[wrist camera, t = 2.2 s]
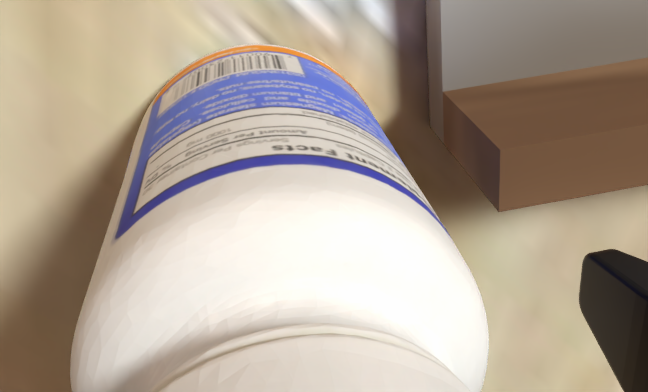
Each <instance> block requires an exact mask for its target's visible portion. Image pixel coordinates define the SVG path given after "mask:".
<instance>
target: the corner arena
mask: <svg viewBox="0 0 648 392" xmlns="http://www.w3.org/2000/svg"><path fill="white" fill-rule="evenodd" d="M426 26H427V55H428V83H429V112H430V128H431V129H432V130H433V131H434V133H435V134H436V135H437V136H438V138H439V139H440V140H441V141H442V142H443V144H444V145H445V146H446V147H447V149H448V150H449V151H450V152H451V154H452V155H453V156H454V157H455V158H456V160H457V161H458V162H459V163H460V165H461V166H462V167H463V168H464V170H465V171H466V172H467V173H468V175H469V176H470V177H471V178H472V179H473V181H474V182H475V183H476V184H477V186H478V187H479V188H480V189H481V191H482V192H483V193H484V194H485V195H486V197H487V198H488V199H489V200H490V202H491V203H492V204H493V205H494V207H495V208H496V209H497V210H498V212H501V211H507V210H512V209H518V208H523V207H529V206H534V205H540V204H545V203H550V202H556V201H561V200H567V199H572V198H578V197H583V196H589V195H594V194H600V193H605V192H610V191H616V190H621V189H627V188H632V187H638V186H643V185H648V0H426Z"/></svg>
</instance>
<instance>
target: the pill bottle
mask: <svg viewBox="0 0 648 392" xmlns="http://www.w3.org/2000/svg"><path fill="white" fill-rule="evenodd" d="M488 351H489V336H488V324H487V317H486V312H485V308H484V305H483V301H482V297H481V294H480V291H479V289H478V287H477V284H476V282H475V280H474V277H473V275H472V273H471V271H470V269H469V268H468V266H467V264H466V262H465V261H464V259H463V257H462V256H461V254H460V252H459V251H458V249H457V247H456V245H455V244H454V242H453V240H452V239H451V237H450V235H449V234H448V232H447V230H446V229H445V227H444V226H443V224H442V223H441V221H440V219H439V218H438V216H437V215H436V213H435V211H434V210H433V208H432V207H431V205H430V204H429V202H428V201H427V199H426V198H425V196H424V195H423V193H422V191H421V190H420V188H419V187H418V185H417V184H416V182H415V180H414V179H413V177H412V176H411V174H410V173H409V171H408V170H407V168H406V167H405V165H404V163H403V162H402V160H401V159H400V157H399V155H398V154H397V152H396V151H395V149H394V148H393V146H392V144H391V143H390V141H389V140H388V138H387V137H386V135H385V134H384V132H383V130H382V129H381V127H380V125H379V124H378V122H377V121H376V119H375V117H374V116H373V114H372V113H371V111H370V110H369V108H368V106H367V105H366V103H365V102H364V100H363V99H362V98H361V96H360V95H359V93H358V92H357V91H356V90H355V89H354V88H353V87H352V86H351V84H349V83H348V82H347V81H346V79H345V78H343V77H342V76H341V75H340V74H339V73H338V72H337V71H335V70H334V69H333V68H332V67H330V66H329V65H327V64H326V63H324V62H323V61H321V60H319V59H317V58H315V57H313V56H311V55H309V54H307V53H304V52H301V51H298V50H295V49H292V48H288V47H283V46H278V45H269V44H246V45H238V46H233V47H228V48H225V49H221V50H218V51H215V52H213V53H210V54H207V55H205V56H203V57H201V58H199V59H197V60H196V61H194V62H192V63H191V64H189V65H188V66H186V67H185V68H183V69H182V70H181V71H180V72H178V73H177V74H176V75H175V76H174V77H173V78H171V79H170V80H169V82H168V83H167V84H166V85H165V86H164V87H163V88H162V89H161V90H160V91H159V93H158V94H157V95H156V97H155V98H154V100H153V101H152V103H151V104H150V106H149V107H148V109H147V111H146V113H145V115H144V117H143V119H142V122H141V124H140V127H139V130H138V133H137V135H136V138H135V141H134V144H133V147H132V151H131V154H130V158H129V161H128V165H127V169H126V173H125V176H124V180H123V183H122V186H121V189H120V192H119V195H118V198H117V201H116V205H115V208H114V211H113V214H112V217H111V220H110V223H109V226H108V229H107V232H106V235H105V238H104V241H103V244H102V247H101V250H100V254H99V257H98V260H97V263H96V266H95V269H94V272H93V275H92V278H91V281H90V284H89V287H88V290H87V293H86V296H85V299H84V302H83V305H82V309H81V312H80V315H79V318H78V321H77V325H76V329H75V334H74V338H73V343H72V350H71V364H70V380H71V389H72V392H481V390H482V386H483V383H484V378H485V374H486V369H487V360H488Z"/></svg>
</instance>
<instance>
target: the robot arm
mask: <svg viewBox="0 0 648 392" xmlns="http://www.w3.org/2000/svg"><path fill="white" fill-rule="evenodd" d="M579 304H580V308H581V311H582V313H583V316H584V317H585V319H586V321H587V323H588V325H589V327H590V329H591V331H592V333H593V334H594V336H595V338H596V340H597V342H598V344H599V346H600V348H601V350H602V351H603V353H604V355H605V357H606V359H607V361H608V363H609V365H610V367H611V368H612V370H613V372H614V374H615V376H616V378H617V380H618V382H619V384H620V385H621V387H622V389H623V391H624V392H648V262H646V261H644V260H641V259H639V258H636V257H634V256H631V255H628V254H626V253H623V252H621V251H618V250H615V249H608V250H603V251H598V252H592V253H589V254H587V255H586V256H585V258H584V260H583V264H582V273H581V283H580V292H579Z"/></svg>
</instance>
